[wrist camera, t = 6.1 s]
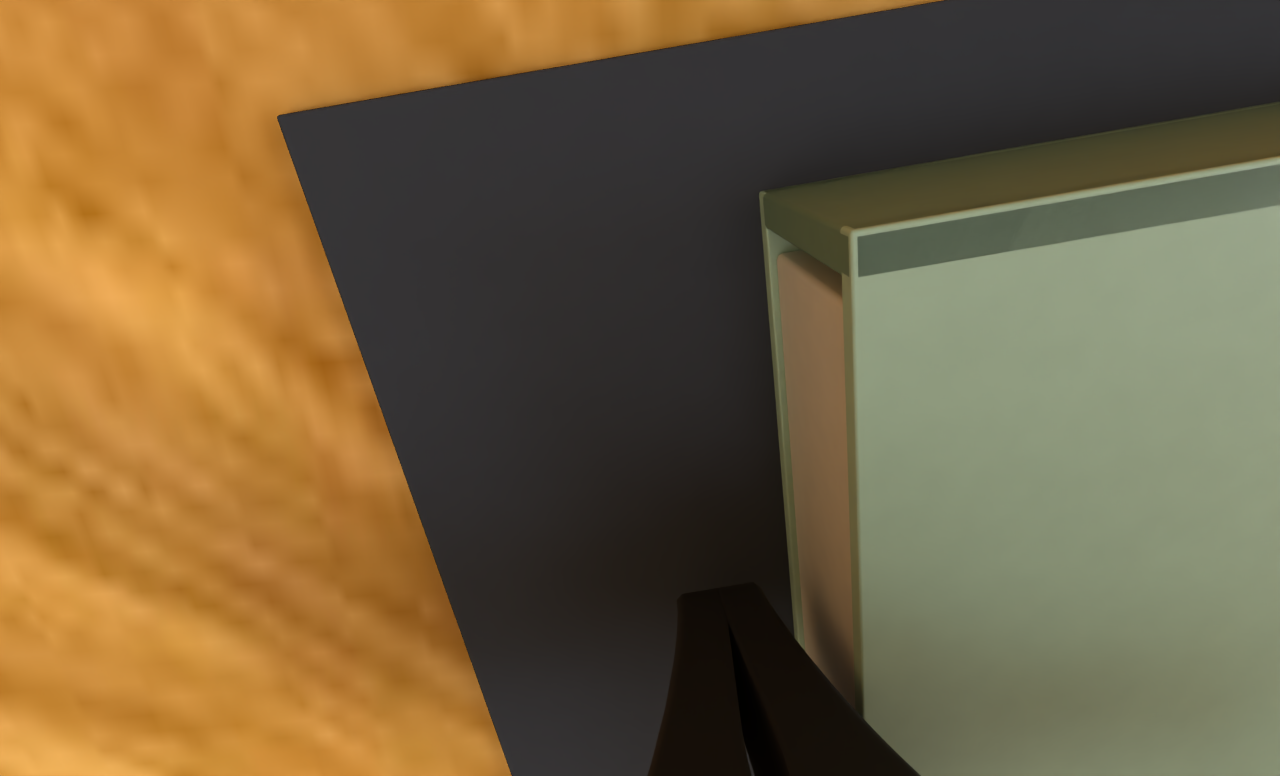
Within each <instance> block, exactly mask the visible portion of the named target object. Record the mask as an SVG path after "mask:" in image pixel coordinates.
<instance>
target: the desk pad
mask: <svg viewBox="0 0 1280 776" xmlns="http://www.w3.org/2000/svg"><path fill="white" fill-rule="evenodd" d="M1275 102H1280V0H944V1H938V2H932V3H926V4H920V5H915V6H909V7H903V8H897V9H891V10H886V11H880V12H874V13H868V14H862V15H857V16H851V17H845V18H839V19H833V20H828V21H822V22H816V23H810V24H804V25H799V26H793V27H787V28H781V29H775V30H770V31H764V32H758V33H752V34H746V35H741V36H735V37H729V38H723V39H717V40H712V41H706V42H700V43H694V44H688V45H683V46H677V47H671V48H665V49H659V50H654V51H648V52H642V53H636V54H630V55H625V56H619V57H613V58H607V59H601V60H596V61H590V62H584V63H578V64H572V65H567V66H561V67H555V68H549V69H543V70H538V71H532V72H526V73H520V74H514V75H509V76H503V77H497V78H491V79H485V80H480V81H474V82H468V83H462V84H456V85H451V86H445V87H439V88H433V89H427V90H422V91H416V92H410V93H404V94H398V95H393V96H387V97H381V98H375V99H369V100H364V101H358V102H352V103H346V104H340V105H335V106H329V107H323V108H317V109H311V110H306V111H300V112H294V113H288V114H282V115H279V116H277V119H278V122H279V125H280V127H281V130H282V133H283V136H284V139H285V141H286V144H287V147H288V150H289V153H290V155H291V158H292V161H293V164H294V167H295V169H296V172H297V175H298V178H299V181H300V183H301V186H302V189H303V192H304V195H305V197H306V200H307V203H308V206H309V209H310V211H311V214H312V217H313V220H314V223H315V225H316V228H317V231H318V234H319V237H320V239H321V242H322V245H323V248H324V251H325V253H326V256H327V259H328V262H329V265H330V267H331V270H332V273H333V276H334V279H335V281H336V284H337V287H338V290H339V293H340V295H341V298H342V301H343V304H344V307H345V309H346V312H347V315H348V318H349V321H350V323H351V326H352V329H353V332H354V335H355V337H356V340H357V343H358V346H359V349H360V351H361V354H362V357H363V360H364V363H365V365H366V368H367V371H368V374H369V377H370V379H371V382H372V385H373V388H374V391H375V394H376V396H377V399H378V402H379V405H380V408H381V410H382V413H383V416H384V419H385V422H386V424H387V427H388V430H389V433H390V436H391V438H392V441H393V444H394V447H395V450H396V452H397V455H398V458H399V461H400V464H401V466H402V469H403V472H404V475H405V478H406V480H407V483H408V486H409V489H410V492H411V494H412V497H413V500H414V503H415V506H416V508H417V511H418V514H419V517H420V520H421V522H422V525H423V528H424V531H425V534H426V536H427V539H428V542H429V545H430V548H431V550H432V553H433V556H434V559H435V562H436V564H437V567H438V570H439V573H440V576H441V578H442V581H443V584H444V587H445V590H446V592H447V595H448V598H449V601H450V604H451V606H452V609H453V612H454V615H455V618H456V620H457V623H458V626H459V629H460V632H461V634H462V637H463V640H464V643H465V646H466V648H467V651H468V654H469V657H470V660H471V662H472V665H473V668H474V671H475V674H476V676H477V679H478V682H479V685H480V688H481V690H482V693H483V696H484V699H485V702H486V704H487V707H488V710H489V713H490V716H491V718H492V721H493V724H494V727H495V730H496V732H497V735H498V738H499V741H500V744H501V746H502V749H503V752H504V755H505V758H506V760H507V763H508V766H509V769H510V772H511V775H512V776H648V772H649V769H650V765H651V762H652V758H653V754H654V750H655V746H656V742H657V738H658V734H659V731H660V727H661V723H662V719H663V715H664V710H665V706H666V701H667V696H668V690H669V685H670V679H671V673H672V668H673V662H674V654H675V646H676V637H677V619H678V610H677V599H678V598H679V597H680V596H681V595H682V594H684V593H690V592H696V591H702V590H708V589H714V588H720V587H726V586H732V585H738V584H744V583H751V582H754V583H756V584H757V585H759V586H760V587H761V589H762V591H763V592H764V594H765V596H766V597H767V599H768V601H769V602H770V604H771V605H772V607H773V608H774V610H775V611H776V613H777V614H778V616H779V617H780V618H781V620H782V621H783V623H784V624H785V625H786V627H787V628H788V630H789V631H790V632H791V634H792V635H793V636H794V638H795V635H794V622H793V610H792V597H791V585H790V573H789V560H788V548H787V535H786V523H785V511H784V498H783V486H782V473H781V461H780V449H779V436H778V424H777V411H776V399H775V387H774V374H773V362H772V350H771V337H770V325H769V312H768V300H767V288H766V275H765V263H764V250H763V238H762V226H761V213H760V201H759V193H760V192H761V191H766V190H771V189H777V188H783V187H789V186H795V185H800V184H806V183H812V182H818V181H824V180H829V179H835V178H841V177H847V176H852V175H858V174H864V173H870V172H876V171H881V170H887V169H893V168H899V167H904V166H910V165H916V164H922V163H928V162H933V161H939V160H945V159H951V158H957V157H962V156H968V155H974V154H980V153H985V152H991V151H997V150H1003V149H1009V148H1014V147H1020V146H1026V145H1032V144H1037V143H1043V142H1049V141H1055V140H1061V139H1066V138H1072V137H1078V136H1084V135H1090V134H1095V133H1101V132H1107V131H1113V130H1118V129H1124V128H1130V127H1136V126H1142V125H1147V124H1153V123H1159V122H1165V121H1171V120H1176V119H1182V118H1188V117H1194V116H1199V115H1205V114H1211V113H1217V112H1223V111H1228V110H1234V109H1240V108H1246V107H1251V106H1257V105H1263V104H1269V103H1275ZM745 748H746V746H745ZM746 754H747V759H748V763H749V767H750V771H751V775H752V776H755V775H754V772H753V769H752V766H751V763H750V759H749V756H748V753H747V750H746Z"/></svg>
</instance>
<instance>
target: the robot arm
mask: <svg viewBox="0 0 1280 776" xmlns="http://www.w3.org/2000/svg"><path fill="white" fill-rule="evenodd" d="M677 610H678V619H677V637H676V646H675V654H674V662H673V668H672V673H671V679H670V685H669V690H668V696H667V701H666V706H665V710H664V715H663V719H662V723H661V727H660V731H659V734H658V738H657V742H656V746H655V750H654V754H653V758H652V762H651V765H650V769H649V772H648V776H752V775H751V771H750V767H749V763H748V759H747V754H746V750H747V753H748V756H749V759H750V763H751V766H752V769H753V772H754V775H755V776H921V775H920V774H919V773H918V772H916V771H915V770H914V769H913V768H912V767H911V766H910V765H909V764H908V763H907V762H906V761H905V760H904V759H903V758H902V757H901V756H900V755H899V754H898V753H897V752H896V751H895V750H894V749H893V748H892V747H891V746H890V745H889V744H888V743H887V742H886V741H885V740H884V739H883V738H882V737H881V736H880V735H879V734H878V733H877V732H876V731H875V730H874V729H873V728H872V727H871V726H870V725H869V724H868V723H867V722H866V721H865V720H864V719H863V717H862V716H861V715H860V714H859V713H858V712H857V711H856V710H855V709H854V708H853V707H852V706H851V705H850V704H849V702H848V701H847V700H846V699H845V698H844V697H843V696H842V695H841V693H840V692H839V691H838V690H837V689H836V688H835V687H834V686H833V684H832V683H831V682H830V681H829V680H828V678H827V677H826V676H825V675H824V674H823V672H822V671H821V670H820V669H819V668H818V666H817V665H816V664H815V663H814V662H813V660H812V659H811V658H810V657H809V656H808V654H807V653H806V652H805V651H804V649H803V648H802V647H801V645H800V644H799V643H798V642H797V640H796V639H795V638H794V636H793V635H792V634H791V632H790V631H789V630H788V628H787V627H786V625H785V624H784V623H783V621H782V620H781V618H780V617H779V616H778V614H777V613H776V611H775V610H774V608H773V607H772V605H771V604H770V602H769V601H768V599H767V597H766V596H765V594H764V592H763V591H762V589H761V587H760V586H759V585H757V584H756V583H754V582H751V583H744V584H738V585H732V586H726V587H720V588H714V589H708V590H702V591H696V592H690V593H684V594H682V595H681V596H680V597H679V598H678V599H677ZM745 746H746V748H745Z"/></svg>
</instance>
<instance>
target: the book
mask: <svg viewBox="0 0 1280 776" xmlns="http://www.w3.org/2000/svg"><path fill="white" fill-rule="evenodd" d="M759 201H760V213H761V226H762V238H763V250H764V263H765V275H766V288H767V300H768V312H769V325H770V337H771V350H772V362H773V374H774V387H775V399H776V411H777V424H778V436H779V449H780V461H781V473H782V486H783V498H784V511H785V523H786V535H787V548H788V560H789V573H790V585H791V597H792V610H793V622H794V635H795V639H796V640H797V642H798V643H799V644H800V645H801V647H802V648H803V649H804V651H805V652H806V653H807V654H808V656H809V657H810V658H811V659H812V660H813V662H814V663H815V664H816V665H817V666H818V668H819V669H820V670H821V671H822V672H823V674H824V675H825V676H826V677H827V678H828V680H829V681H830V682H831V683H832V684H833V686H834V687H835V688H836V689H837V690H838V691H839V692H840V693H841V695H842V696H843V697H844V698H845V699H846V700H847V701H848V702H849V704H850V705H851V706H852V707H853V708H854V709H855V710H856V711H857V712H858V713H859V714H860V715H861V716H862V717H863V719H864V720H865V721H866V722H867V723H868V724H869V725H870V726H871V727H872V728H873V729H874V730H875V731H876V732H877V733H878V734H879V735H880V736H881V737H882V738H883V739H884V740H885V741H886V742H887V743H888V744H889V745H890V746H891V747H892V748H893V749H894V750H895V751H896V752H897V753H898V754H899V755H900V756H901V757H902V758H903V759H904V760H905V761H906V762H907V763H908V764H909V765H910V766H911V767H912V768H913V769H914V770H915V771H916V772H918V773H919V774H920V775H921V776H1280V102H1275V103H1269V104H1263V105H1257V106H1251V107H1246V108H1240V109H1234V110H1228V111H1223V112H1217V113H1211V114H1205V115H1199V116H1194V117H1188V118H1182V119H1176V120H1171V121H1165V122H1159V123H1153V124H1147V125H1142V126H1136V127H1130V128H1124V129H1118V130H1113V131H1107V132H1101V133H1095V134H1090V135H1084V136H1078V137H1072V138H1066V139H1061V140H1055V141H1049V142H1043V143H1037V144H1032V145H1026V146H1020V147H1014V148H1009V149H1003V150H997V151H991V152H985V153H980V154H974V155H968V156H962V157H957V158H951V159H945V160H939V161H933V162H928V163H922V164H916V165H910V166H904V167H899V168H893V169H887V170H881V171H876V172H870V173H864V174H858V175H852V176H847V177H841V178H835V179H829V180H824V181H818V182H812V183H806V184H800V185H795V186H789V187H783V188H777V189H771V190H766V191H761V192H760V193H759Z"/></svg>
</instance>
